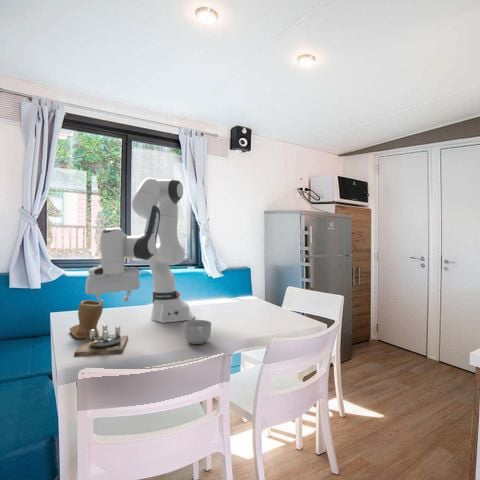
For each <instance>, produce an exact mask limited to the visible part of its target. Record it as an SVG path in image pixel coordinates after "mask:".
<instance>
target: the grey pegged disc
mask: <svg viewBox="0 0 480 480" xmlns="http://www.w3.org/2000/svg"><path fill="white" fill-rule="evenodd" d="M114 329H115V333H114V334H109V330H108V325H107V324H104V325H102V335H98V336H95V329H91V330H90V343H89V345H90V346H91V347H93V348H106V347H111V346H115V345H117V344H119V343H120V342H121V337H120V336H121V326H115V328H114Z"/></svg>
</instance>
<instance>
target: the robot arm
mask: <svg viewBox="0 0 480 480" xmlns="http://www.w3.org/2000/svg"><path fill="white" fill-rule="evenodd" d="M183 195H184V186H183V184H182V183H181V181H180V180H177V179H174V178H173V179H170V178H168V179H167V178H160V179H155V178H153V177H147V178H145V179H143V180H142V182H141V183H140V185H139V186H138V188H137V190H136V192H135V194H134V195H133V198H132V201H131V207H132V210H133V211H134V212H135V213H136V214H137V215H138V216H139V217H141V218H143V219H146V223H145V227H144V232H143V233H142V234H140V235H128V234H126V233H125V232H123V229H122V228H121V227H110V228H105V229H103V230H102V231H101V235H100V244H99V245H100V246H99V248H100V254H101V259H100V264H99V265H96V266H93V267H91V268H89V269H88V270H87V271H88V275H87V277H86V279H85V285H84V286H85V290H84V291H85V293H86V294H87V295H89V296H92V295H95V297H96V299H97V300H98V302H99V305H103V306H104V299H101V295H102V294H108V293H118V292H126V295H125V296H123V302H124V303H127V302H129V298H130V296H131V293H132V291H135V290H139V289H140V287H141V286H140V279H139V277H140V270H139V268H138V267H135V266H132V267H125V259H127V260H129V259H131V260H143V261H146V262H147V263H148V264H149V268H150V270H151V275H152V288H153V289H152V290H153V291H152V293H151V295H152V296H151V297H152V299H151V301H152V310H151V315H150V317H149V318H150V320H151V321H152V322H159V323H163V324H164V323H175V322H183V321H184V322H186V321H189V320H195V314H194V313H193V312H191V309H190V306H189V304H188V302H186V301H184V300H182V299H181V298H180V296H181V293H180V292H179V290H178V291H177V290H176V277H175V275H174V273H173V272H172V271H171V268H170V266H175V265H179V264H181V263H182V262H183V261H184V259H185V257H186V256H185V255H186V254H185V253H186V252H185V249H184V247H183V246H182V245H181V244H180V241H179V237H178V219H179V205H178V203H179V201H181V199H182V197H183ZM157 237H158V238H159V243H157Z"/></svg>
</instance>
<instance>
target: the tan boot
mask: <svg viewBox="0 0 480 480" xmlns="http://www.w3.org/2000/svg"><path fill="white" fill-rule="evenodd" d="M103 309H104V305H99V300H98V301H96V300H89V299H87V300H85V299H84V300H82V301H80V303H79V305H78V312H77V318H78V321H79V324H77V325H73V326H71V327H70V328H69V332H70V333H71V334H72V336H73V337H74V338H76V339H86V338H90V330H91V329H95V337H97V336H100V335H99V333H100V332H99V330H98V323H99V320H100V319H101V316H102V314H103Z"/></svg>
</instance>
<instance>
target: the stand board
mask: <svg viewBox="0 0 480 480" xmlns="http://www.w3.org/2000/svg"><path fill="white" fill-rule="evenodd" d="M120 337H121V342H120V343H119V344H117V345H115V346H111V347H106V348H93V347H91V346H90V345H89V343H90V338H84V340H83V342H81V344H80V345H79V346H78V347H77V349H75V351H74V353H73V354H74V355H73V356H74V357H80V356H84V357H85V356H97V355H98V356H100V355H115V354H123V351H124V349H125V347H126V344H127V342H128V340H129V335H127V334H126V335H120Z"/></svg>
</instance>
